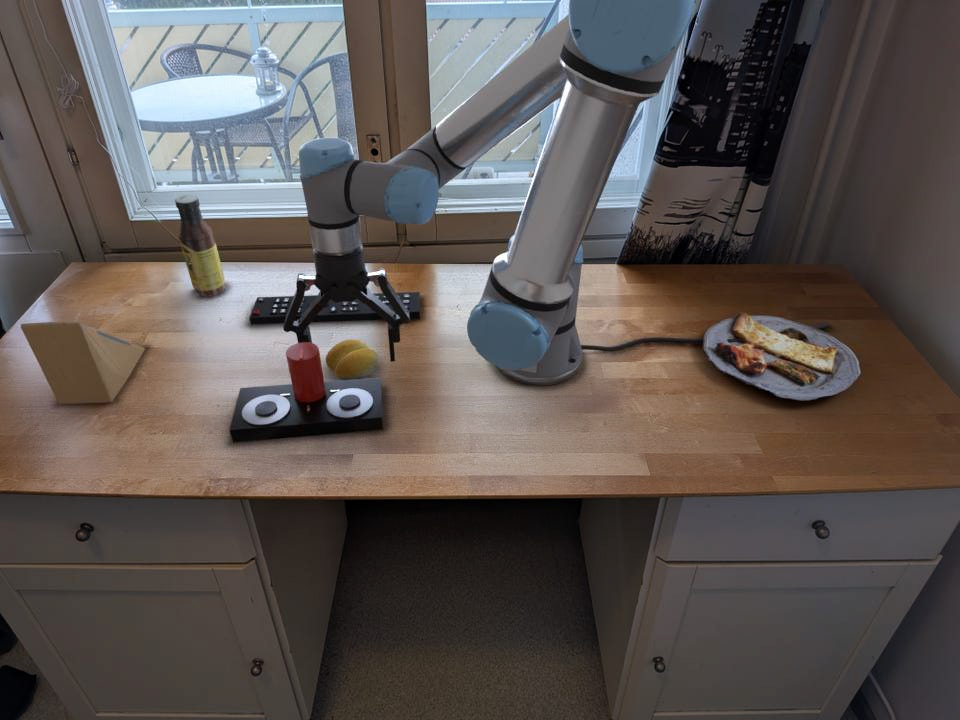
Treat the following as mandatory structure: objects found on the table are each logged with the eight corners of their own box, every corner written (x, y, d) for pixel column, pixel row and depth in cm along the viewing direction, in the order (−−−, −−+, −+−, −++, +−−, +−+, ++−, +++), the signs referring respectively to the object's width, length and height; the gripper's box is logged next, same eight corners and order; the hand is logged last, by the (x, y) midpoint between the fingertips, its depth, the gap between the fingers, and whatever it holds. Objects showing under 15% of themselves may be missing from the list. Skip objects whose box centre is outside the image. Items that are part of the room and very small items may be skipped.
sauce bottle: (195, 285, 134) (169, 192, 122) (227, 281, 135) (204, 189, 123) (193, 300, 128) (166, 205, 117) (227, 296, 130) (203, 201, 118)
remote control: (257, 303, 128) (255, 295, 127) (419, 298, 130) (419, 289, 129) (249, 324, 122) (247, 315, 120) (420, 318, 124) (419, 309, 123)
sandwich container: (147, 347, 115) (121, 272, 106) (113, 402, 103) (80, 322, 94) (97, 349, 115) (66, 273, 106) (57, 404, 102) (18, 324, 93)
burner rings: (372, 388, 102) (372, 385, 102) (373, 416, 97) (372, 413, 96) (246, 397, 100) (245, 394, 100) (238, 428, 94) (237, 424, 94)
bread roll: (347, 388, 106) (344, 369, 104) (320, 363, 112) (317, 344, 109) (389, 369, 110) (387, 350, 108) (361, 346, 116) (359, 327, 114)
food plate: (676, 359, 113) (680, 343, 111) (739, 311, 127) (743, 295, 125) (820, 427, 99) (827, 409, 97) (873, 364, 113) (881, 347, 111)
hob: (382, 383, 107) (380, 370, 106) (383, 429, 98) (381, 416, 96) (245, 393, 105) (241, 380, 103) (232, 442, 95) (228, 429, 94)
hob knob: (295, 384, 103) (287, 341, 98) (326, 382, 103) (319, 339, 98) (292, 404, 99) (283, 359, 94) (325, 401, 99) (317, 357, 94)
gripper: (418, 231, 102) (424, 342, 115) (256, 239, 99) (280, 352, 112) (421, 252, 96) (427, 367, 109) (248, 261, 93) (274, 378, 106)
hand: (352, 360), depth 110 cm, fingers open, 13 cm apart
